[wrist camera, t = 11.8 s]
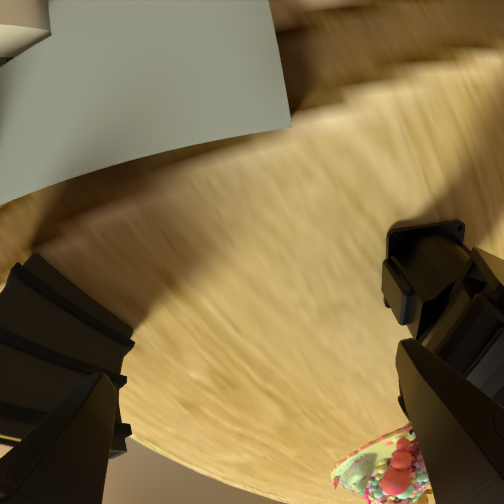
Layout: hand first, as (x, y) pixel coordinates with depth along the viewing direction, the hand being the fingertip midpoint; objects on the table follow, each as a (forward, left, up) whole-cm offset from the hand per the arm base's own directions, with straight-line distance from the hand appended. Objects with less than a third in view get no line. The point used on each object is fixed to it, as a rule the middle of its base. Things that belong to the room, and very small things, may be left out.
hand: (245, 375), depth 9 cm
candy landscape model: (-17, +45, -14) cm, 50 cm away
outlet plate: (+9, -14, -13) cm, 21 cm away
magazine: (+15, +6, -13) cm, 21 cm away
